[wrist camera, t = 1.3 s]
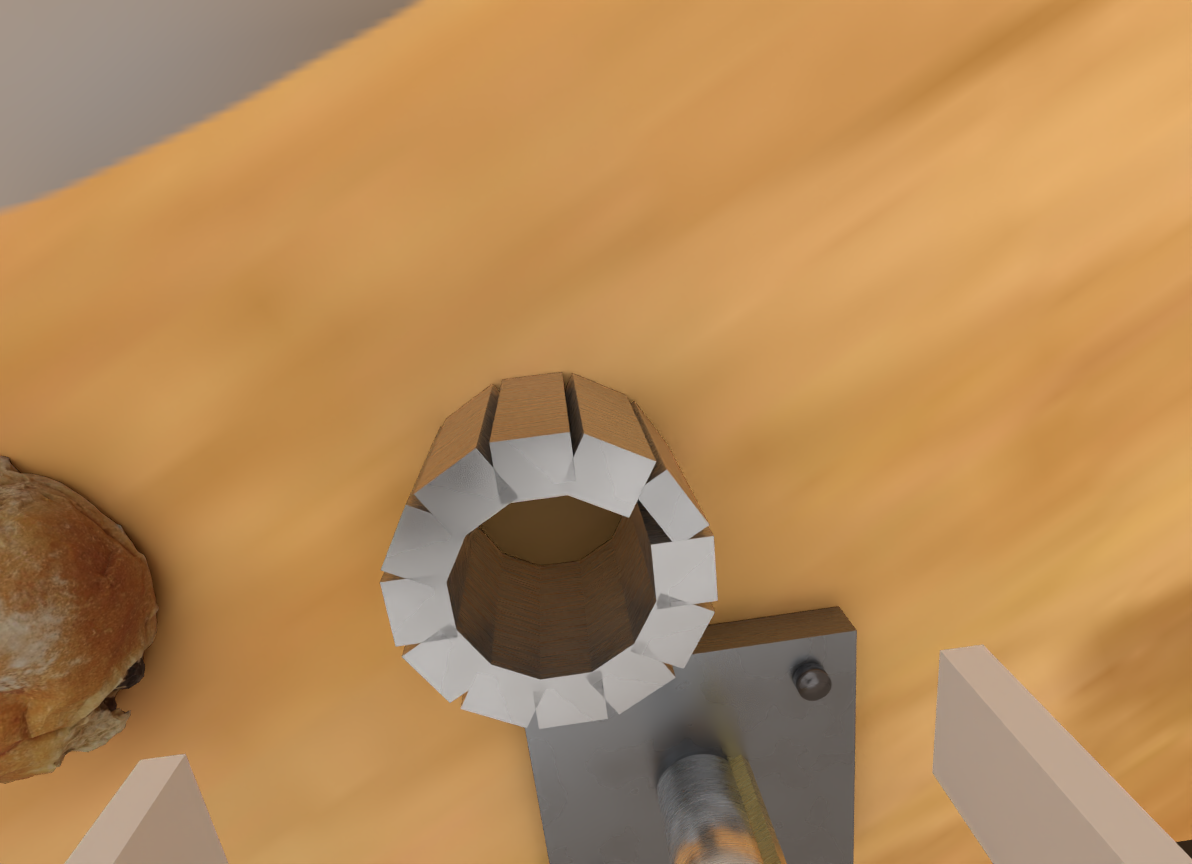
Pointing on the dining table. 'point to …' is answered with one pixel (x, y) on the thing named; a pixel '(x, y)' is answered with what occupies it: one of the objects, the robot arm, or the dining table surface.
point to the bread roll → (64, 623)
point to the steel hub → (553, 592)
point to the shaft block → (715, 756)
